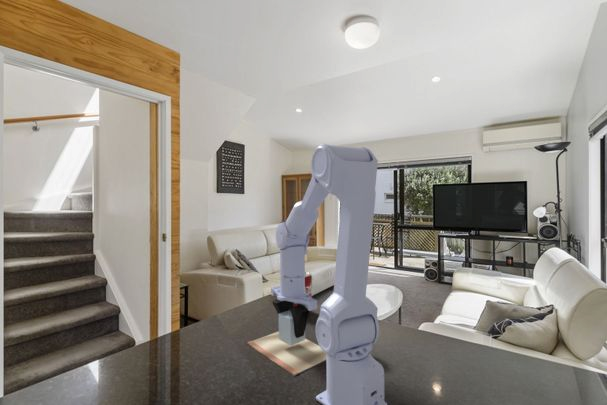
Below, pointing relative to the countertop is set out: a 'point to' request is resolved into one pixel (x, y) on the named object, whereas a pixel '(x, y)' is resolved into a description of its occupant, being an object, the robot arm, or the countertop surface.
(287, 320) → the block
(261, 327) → the countertop surface
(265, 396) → the countertop surface
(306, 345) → the mat
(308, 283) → the soda can
